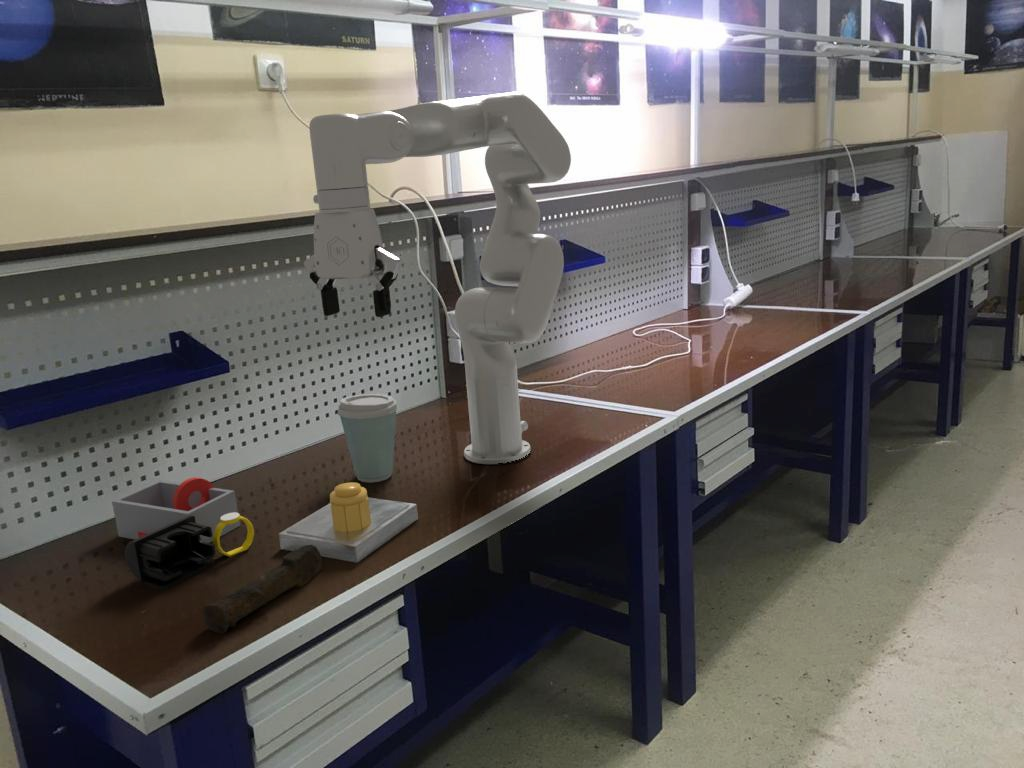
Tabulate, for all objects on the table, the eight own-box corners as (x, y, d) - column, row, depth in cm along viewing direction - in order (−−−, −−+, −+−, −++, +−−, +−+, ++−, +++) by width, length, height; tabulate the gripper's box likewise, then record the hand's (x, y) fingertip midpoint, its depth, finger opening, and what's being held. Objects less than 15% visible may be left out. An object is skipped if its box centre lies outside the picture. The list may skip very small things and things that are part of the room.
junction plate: (346, 508, 143) (342, 474, 141) (418, 518, 136) (414, 483, 135) (281, 549, 129) (275, 511, 128) (357, 562, 123) (352, 523, 121)
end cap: (188, 553, 130) (181, 511, 128) (220, 562, 126) (212, 519, 125) (129, 582, 122) (120, 538, 120) (161, 593, 118) (152, 547, 117)
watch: (224, 563, 126) (215, 527, 125) (214, 558, 128) (205, 522, 126) (260, 546, 130) (251, 510, 129) (250, 541, 132) (241, 506, 131)
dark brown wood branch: (224, 639, 105) (219, 605, 104) (203, 630, 108) (198, 597, 107) (336, 574, 121) (332, 543, 119) (316, 568, 123) (312, 538, 122)
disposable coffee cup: (374, 463, 164) (365, 386, 160) (417, 471, 158) (409, 392, 154) (333, 482, 155) (323, 401, 152) (377, 491, 149) (367, 408, 146)
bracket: (206, 512, 144) (198, 467, 142) (220, 518, 141) (212, 473, 139) (136, 539, 136) (126, 492, 134) (150, 546, 133) (140, 498, 131)
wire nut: (348, 514, 133) (344, 478, 132) (377, 519, 131) (373, 482, 129) (326, 528, 128) (321, 491, 127) (355, 533, 126) (351, 495, 124)
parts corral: (166, 513, 146) (160, 480, 145) (240, 525, 139) (234, 490, 137) (118, 536, 138) (111, 501, 137) (194, 550, 131) (188, 513, 129)
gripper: (282, 205, 129) (297, 318, 134) (377, 200, 121) (390, 320, 126) (314, 201, 136) (327, 309, 140) (406, 196, 128) (418, 311, 132)
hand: (357, 314), depth 133 cm, fingers open, 9 cm apart
